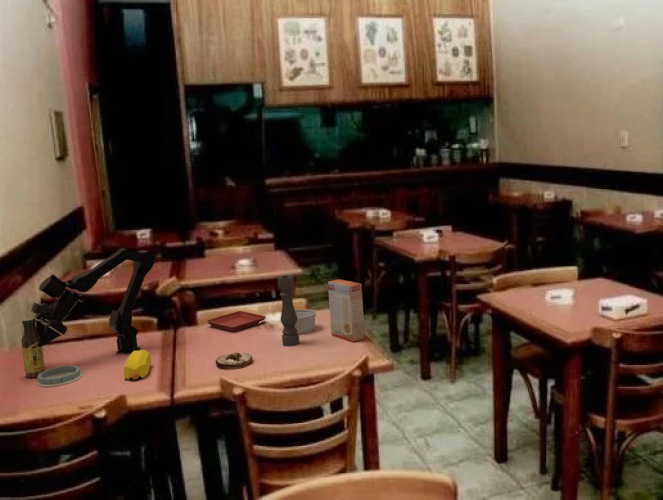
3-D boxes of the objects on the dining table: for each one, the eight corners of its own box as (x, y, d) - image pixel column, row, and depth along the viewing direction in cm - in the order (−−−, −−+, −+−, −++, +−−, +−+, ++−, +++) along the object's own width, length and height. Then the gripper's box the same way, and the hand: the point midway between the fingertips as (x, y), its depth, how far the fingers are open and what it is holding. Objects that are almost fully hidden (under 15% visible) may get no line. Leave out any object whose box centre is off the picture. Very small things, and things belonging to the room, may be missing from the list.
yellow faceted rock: (153, 363, 225) (130, 365, 224) (151, 344, 224) (128, 347, 223) (147, 380, 208) (122, 383, 207) (144, 360, 207) (120, 363, 206)
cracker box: (366, 339, 235) (362, 283, 231) (352, 342, 231) (348, 286, 228) (343, 331, 246) (340, 278, 243) (330, 335, 243) (326, 281, 239)
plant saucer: (267, 323, 267) (266, 315, 267) (233, 334, 254) (232, 326, 254) (240, 317, 280) (239, 310, 279) (206, 328, 267) (205, 320, 266)
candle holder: (279, 345, 234) (273, 278, 230) (287, 340, 240) (281, 275, 236) (295, 346, 232) (289, 278, 228) (302, 341, 237) (296, 275, 233)
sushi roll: (209, 361, 223) (208, 350, 223) (252, 355, 227) (251, 343, 227) (214, 374, 209) (213, 362, 209) (259, 367, 213) (258, 355, 213)
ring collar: (90, 372, 220) (89, 365, 219) (63, 387, 206) (62, 380, 206) (56, 371, 224) (55, 364, 223) (27, 386, 210) (26, 379, 210)
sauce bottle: (38, 378, 217) (29, 321, 214) (21, 378, 219) (13, 322, 215) (50, 371, 224) (41, 316, 220) (34, 371, 225) (25, 316, 222)
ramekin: (316, 334, 246) (314, 316, 244) (282, 336, 246) (280, 318, 245) (317, 324, 259) (316, 308, 258) (284, 327, 259) (283, 310, 258)
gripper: (36, 290, 228) (7, 327, 223) (52, 296, 214) (22, 336, 208) (62, 307, 234) (34, 343, 229) (79, 314, 220) (50, 353, 215)
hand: (34, 343), depth 220 cm, fingers open, 9 cm apart
